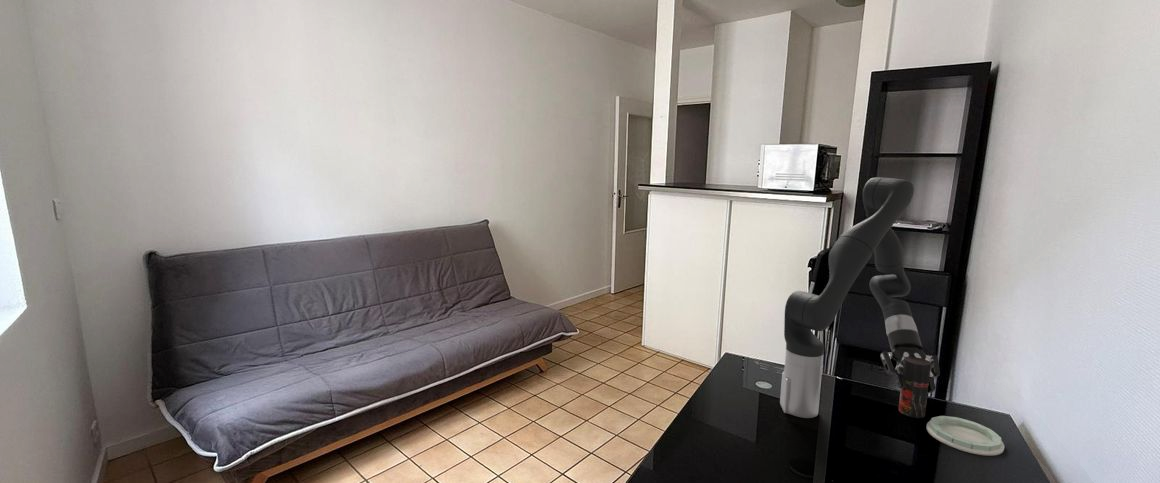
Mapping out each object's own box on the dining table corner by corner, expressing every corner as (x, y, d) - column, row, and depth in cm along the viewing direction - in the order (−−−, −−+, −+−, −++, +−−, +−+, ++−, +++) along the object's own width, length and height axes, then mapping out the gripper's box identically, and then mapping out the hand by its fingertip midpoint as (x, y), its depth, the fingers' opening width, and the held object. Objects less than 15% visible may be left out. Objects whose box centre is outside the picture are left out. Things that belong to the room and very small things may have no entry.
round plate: (945, 450, 110) (946, 442, 110) (915, 418, 125) (916, 411, 124) (1019, 459, 107) (1021, 451, 107) (980, 425, 122) (981, 418, 121)
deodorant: (929, 419, 125) (935, 366, 122) (904, 416, 126) (910, 364, 124) (918, 408, 130) (924, 357, 128) (894, 406, 131) (900, 355, 129)
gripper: (879, 326, 134) (893, 382, 124) (936, 330, 131) (954, 388, 121) (870, 337, 140) (882, 392, 130) (924, 341, 136) (941, 398, 127)
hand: (917, 390), depth 125 cm, fingers closed on deodorant, 6 cm apart
